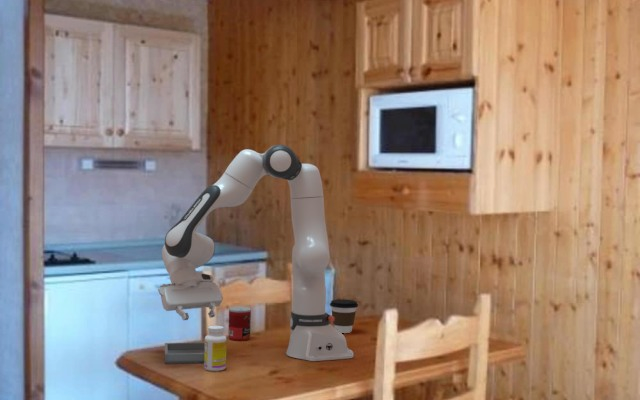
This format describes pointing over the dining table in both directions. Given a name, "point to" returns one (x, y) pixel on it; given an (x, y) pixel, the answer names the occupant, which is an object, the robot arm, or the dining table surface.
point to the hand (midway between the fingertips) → (199, 317)
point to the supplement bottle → (215, 349)
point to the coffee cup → (343, 314)
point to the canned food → (239, 323)
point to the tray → (184, 353)
